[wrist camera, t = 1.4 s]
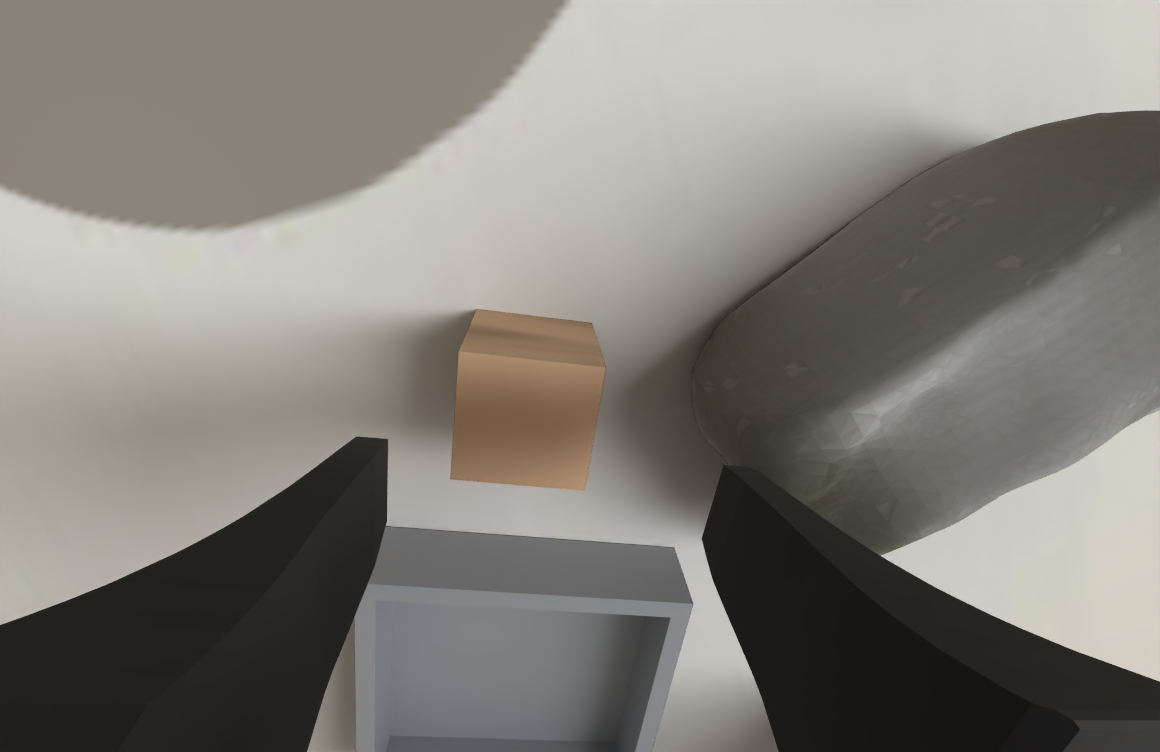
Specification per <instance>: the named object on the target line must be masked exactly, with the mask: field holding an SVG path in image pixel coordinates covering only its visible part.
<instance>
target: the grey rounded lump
mask: <svg viewBox="0 0 1160 752" xmlns="http://www.w3.org/2000/svg"><path fill="white" fill-rule="evenodd" d="M691 393H692V404H693V410H694V413H695V417H696V421H697V424H698V427H699V430H700V432H701V433H702V435H703V436H704V438H705V439H706V441H707V442H708V443H709V444H710V445H711V446H712V447H713V448H714V449H715V450H716V451H717V452H718V453H719V454H720V455H721V456H722V457H723V458H724V460H725V461H726V462H727V463H728V465H729V466H742V467H750V468H752V469H754V470H756V471H757V472H759V473H761V474H762V475H764V476H765V477H767V478H768V479H770V480H771V481H772V482H774V483H775V484H777V485H778V486H780V487H781V488H782V489H784V490H785V491H787V492H788V493H789V494H791V495H792V496H793V497H795V498H796V499H798V500H799V501H800V502H802V503H803V504H805V505H806V506H807V507H809V508H810V509H811V510H813V511H814V512H816V513H817V514H818V515H820V516H821V517H823V518H824V519H826V520H827V521H828V522H830V523H831V524H833V525H834V526H836V527H837V528H838V529H840V530H841V531H843V532H844V533H846V534H847V535H849V536H850V537H852V538H853V539H855V540H856V541H858V542H860V543H861V544H863V545H864V546H866V547H867V548H869V549H870V550H872V551H873V552H875V553H876V554H878V555H883V554H886V553H888V552H890V551H893V550H895V549H898V548H900V547H903V546H905V545H908V544H910V543H912V542H915V541H917V540H919V539H922V538H924V537H926V536H928V535H931V534H933V533H935V532H937V531H940V530H942V529H944V528H947V527H949V526H951V525H953V524H955V523H957V522H959V521H961V520H962V519H964V518H966V517H967V516H969V515H970V514H972V513H974V512H976V511H977V510H979V509H980V508H982V507H984V506H985V505H987V504H988V503H990V502H991V501H993V500H995V499H996V498H998V497H999V496H1001V495H1003V494H1005V493H1007V492H1009V491H1011V490H1014V489H1016V488H1018V487H1021V486H1023V485H1026V484H1028V483H1031V482H1033V481H1036V480H1038V479H1041V478H1043V477H1046V476H1048V475H1051V474H1053V473H1056V472H1058V471H1060V470H1062V469H1064V468H1067V467H1069V466H1070V465H1072V464H1074V463H1076V462H1078V461H1079V460H1081V459H1082V458H1084V457H1085V456H1087V455H1088V454H1090V453H1091V452H1093V451H1094V450H1096V449H1097V448H1098V447H1100V446H1101V445H1103V444H1104V443H1105V442H1107V441H1108V440H1109V439H1111V438H1112V437H1113V436H1115V435H1116V434H1117V433H1118V432H1120V431H1121V430H1123V429H1124V428H1126V427H1127V426H1129V425H1130V424H1132V423H1134V422H1136V421H1138V420H1139V419H1141V418H1143V417H1144V416H1146V415H1149V414H1152V413H1154V412H1156V411H1158V410H1160V111H1128V112H1114V113H1097V114H1092V115H1087V116H1082V117H1077V118H1072V119H1067V120H1062V121H1057V122H1052V123H1048V124H1044V125H1040V126H1036V127H1033V128H1029V129H1026V130H1022V131H1018V132H1015V133H1012V134H1010V135H1007V136H1004V137H1001V138H999V139H996V140H993V141H990V142H987V143H985V144H982V145H980V146H977V147H974V148H972V149H970V150H967V151H965V152H963V153H961V154H959V155H957V156H954V157H952V158H950V159H948V160H946V161H944V162H942V163H940V164H938V165H936V166H934V167H932V168H931V169H929V170H927V171H925V172H923V173H922V174H920V175H918V176H917V177H915V178H913V179H912V180H910V181H909V182H907V183H906V184H904V185H903V186H901V187H900V188H898V189H897V190H895V191H894V192H892V193H891V194H889V195H888V196H887V197H885V198H884V199H882V200H881V201H879V202H878V203H876V204H875V205H874V206H872V207H871V208H869V209H868V210H867V211H865V212H864V213H862V214H861V215H860V216H858V217H857V218H855V219H854V220H853V221H851V222H850V223H849V224H848V225H846V226H845V227H844V228H842V229H841V230H840V231H839V232H837V233H836V234H835V235H834V236H832V237H831V238H830V239H829V240H827V241H826V242H825V243H824V244H822V245H821V246H820V247H818V248H817V249H816V250H815V251H813V252H812V253H811V254H809V255H808V256H807V257H805V258H804V259H803V260H802V261H800V262H799V263H798V264H796V265H795V266H794V267H792V268H791V269H790V270H788V271H787V272H785V273H784V274H783V275H781V276H780V277H779V278H777V279H776V280H774V281H773V282H772V283H770V284H769V285H767V286H766V287H765V288H763V289H762V290H761V291H759V292H758V293H756V294H755V295H754V296H752V297H751V298H750V299H749V300H747V301H746V302H745V303H743V304H742V305H741V306H740V307H738V308H737V309H735V310H734V311H733V312H732V313H730V314H729V315H728V316H727V317H726V318H725V319H724V320H723V321H722V322H721V323H720V324H719V325H718V326H717V328H716V329H715V330H714V332H713V333H712V335H711V336H710V338H709V339H708V341H707V343H706V344H705V346H704V348H703V349H702V351H701V353H700V355H699V357H698V359H697V361H696V364H695V366H694V368H693V371H692V380H691Z"/></svg>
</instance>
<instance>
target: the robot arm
mask: <svg viewBox="0 0 1160 752" xmlns="http://www.w3.org/2000/svg"><path fill="white" fill-rule="evenodd" d="M387 471H388V439H380V438H367V437H355V438H354V439H353V440H351V441H350V442H349V443H347V444H346V445H345V446H343V447H342V448H340V449H339V450H338V451H336V452H335V453H334V454H333V455H331V456H330V457H329V458H327V459H326V460H325V461H323V462H322V463H321V464H319V465H318V466H317V467H315V468H314V469H313V470H311V471H310V472H309V473H307V474H306V475H304V476H303V477H302V478H300V479H299V480H297V481H296V482H295V483H293V484H292V485H291V486H289V487H288V488H286V489H285V490H283V491H282V492H280V493H279V494H277V495H276V496H274V497H273V498H271V499H269V500H268V501H266V502H265V503H263V504H262V505H260V506H259V507H257V508H256V509H254V510H253V511H251V512H249V513H248V514H246V515H245V516H243V517H241V518H240V519H238V520H236V521H235V522H233V523H231V524H230V525H228V526H226V527H224V528H223V529H221V530H219V531H217V532H215V533H213V534H212V535H210V536H208V537H206V538H204V539H202V540H200V541H199V542H197V543H195V544H193V545H191V546H189V547H187V548H185V549H183V550H181V551H179V552H177V553H175V554H173V555H171V556H169V557H166V558H164V559H162V560H160V561H158V562H156V563H153V564H151V565H149V566H147V567H145V568H143V569H140V570H138V571H136V572H134V573H132V574H129V575H127V576H125V577H123V578H121V579H119V580H116V581H114V582H112V583H109V584H107V585H105V586H102V587H100V588H97V589H95V590H92V591H90V592H87V593H85V594H82V595H80V596H77V597H75V598H73V599H70V600H67V601H65V602H62V603H59V604H57V605H54V606H51V607H49V608H46V609H44V610H41V611H38V612H36V613H33V614H30V615H28V616H25V617H22V618H19V619H16V620H13V621H11V622H8V623H5V624H2V625H0V752H307V750H308V747H309V743H310V740H311V737H312V733H313V730H314V726H315V723H316V720H317V716H318V713H319V710H320V706H321V703H322V700H323V696H324V693H325V690H326V688H327V685H328V682H329V679H330V677H331V674H332V671H333V668H334V666H335V663H336V661H337V658H338V656H339V654H340V651H341V649H342V646H343V644H344V641H345V639H346V636H347V634H348V631H349V629H350V627H351V624H352V622H353V619H354V617H355V614H356V612H357V609H358V607H359V604H360V602H361V600H362V597H363V595H364V592H365V590H366V587H367V585H368V582H369V580H370V577H371V574H372V572H373V569H374V567H375V564H376V560H377V557H378V553H379V549H380V546H381V542H382V538H383V534H384V530H385V526H386V522H387ZM702 541H703V545H704V549H705V553H706V557H707V561H708V565H709V568H710V572H711V575H712V579H713V581H714V584H715V586H716V589H717V591H718V594H719V596H720V599H721V601H722V603H723V606H724V608H725V611H726V613H727V615H728V618H729V620H730V622H731V625H732V627H733V629H734V632H735V634H736V636H737V639H738V641H739V643H740V646H741V648H742V650H743V653H744V655H745V657H746V660H747V662H748V664H749V667H750V669H751V671H752V674H753V676H754V679H755V681H756V684H757V686H758V689H759V692H760V694H761V697H762V700H763V703H764V706H765V709H766V712H767V716H768V719H769V722H770V725H771V728H772V731H773V735H774V738H775V741H776V744H777V747H778V751H779V752H1160V682H1159V681H1156V680H1153V679H1151V678H1148V677H1145V676H1142V675H1140V674H1137V673H1134V672H1131V671H1129V670H1126V669H1123V668H1120V667H1118V666H1115V665H1112V664H1109V663H1107V662H1104V661H1101V660H1098V659H1096V658H1093V657H1090V656H1087V655H1084V654H1082V653H1079V652H1076V651H1074V650H1071V649H1069V648H1066V647H1064V646H1061V645H1059V644H1057V643H1054V642H1052V641H1049V640H1047V639H1045V638H1042V637H1040V636H1037V635H1035V634H1033V633H1030V632H1028V631H1025V630H1023V629H1021V628H1018V627H1016V626H1014V625H1012V624H1010V623H1007V622H1005V621H1003V620H1001V619H998V618H996V617H994V616H992V615H990V614H988V613H986V612H984V611H981V610H979V609H977V608H975V607H973V606H971V605H969V604H967V603H965V602H963V601H961V600H959V599H957V598H955V597H953V596H951V595H949V594H947V593H945V592H943V591H941V590H939V589H937V588H935V587H934V586H932V585H930V584H928V583H926V582H924V581H923V580H921V579H919V578H917V577H916V576H914V575H912V574H910V573H909V572H907V571H905V570H903V569H902V568H900V567H898V566H896V565H894V564H893V563H891V562H890V561H888V560H886V559H885V558H883V557H881V556H880V555H878V554H876V553H875V552H873V551H872V550H870V549H869V548H867V547H866V546H864V545H863V544H861V543H860V542H858V541H856V540H855V539H853V538H852V537H850V536H849V535H847V534H846V533H844V532H843V531H841V530H840V529H838V528H837V527H836V526H834V525H833V524H831V523H830V522H828V521H827V520H826V519H824V518H823V517H821V516H820V515H818V514H817V513H816V512H814V511H813V510H811V509H810V508H809V507H807V506H806V505H805V504H803V503H802V502H800V501H799V500H798V499H796V498H795V497H793V496H792V495H791V494H789V493H788V492H787V491H785V490H784V489H782V488H781V487H780V486H778V485H777V484H775V483H774V482H772V481H771V480H770V479H768V478H767V477H765V476H764V475H762V474H761V473H759V472H757V471H756V470H754V469H752V468H750V467H742V466H729V465H724V466H723V469H722V473H721V476H720V479H719V483H718V486H717V489H716V493H715V496H714V499H713V503H712V506H711V509H710V513H709V516H708V519H707V523H706V526H705V529H704V533H703V536H702Z"/></svg>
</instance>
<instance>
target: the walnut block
mask: <svg viewBox="0 0 1160 752" xmlns="http://www.w3.org/2000/svg"><path fill="white" fill-rule="evenodd" d="M605 370H606V366H605V363H604V360H603V357H602V354H601V350H600V347H599V344H598V341H597V338H596V334H595V331H594V328H593V325H592V323H587V322H579V321H571V320H562V319H554V318H546V317H538V316H529V315H521V314H513V313H505V312H496V311H488V310H480V309H477V310H476V312H475V314H474V317H473V319H472V321H471V324H470V326H469V328H468V331H467V333H466V335H465V338H464V340H463V342H462V345H461V347H460V349H459V355H458V370H457V385H456V400H455V415H454V430H453V445H452V461H451V476H450V479H454V480H465V481H477V482H489V483H501V484H513V485H524V486H536V487H548V488H560V489H572V490H583V491H585V486H586V480H587V475H588V469H589V463H590V457H591V451H592V445H593V440H594V434H595V428H596V422H597V416H598V411H599V405H600V399H601V393H602V387H603V382H604V376H605Z"/></svg>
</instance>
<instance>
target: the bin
mask: <svg viewBox="0 0 1160 752" xmlns="http://www.w3.org/2000/svg"><path fill="white" fill-rule="evenodd" d="M692 607H693V601H692V598H691V595H690V593H689V590H688V587H687V584H686V581H685V578H684V575H683V572H682V569H681V566H680V563H679V560H678V557H677V554H676V552H675V549H674V548H671V547H657V546H644V545H630V544H616V543H603V542H589V541H576V540H562V539H548V538H535V537H521V536H507V535H494V534H480V533H467V532H453V531H439V530H426V529H412V528H399V527H385V530H384V534H383V538H382V542H381V546H380V549H379V553H378V557H377V560H376V564H375V567H374V569H373V572H372V574H371V577H370V580H369V582H368V585H367V587H366V590H365V592H364V595H363V597H362V600H361V602H360V604H359V607H358V609H357V612H356V614H355V698H356V752H652V749H653V745H654V742H655V738H656V735H657V731H658V728H659V724H660V721H661V717H662V713H663V710H664V706H665V703H666V699H667V696H668V692H669V689H670V685H671V682H672V678H673V674H674V671H675V667H676V664H677V660H678V657H679V653H680V650H681V646H682V643H683V639H684V635H685V632H686V628H687V625H688V621H689V618H690V614H691V611H692Z"/></svg>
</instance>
